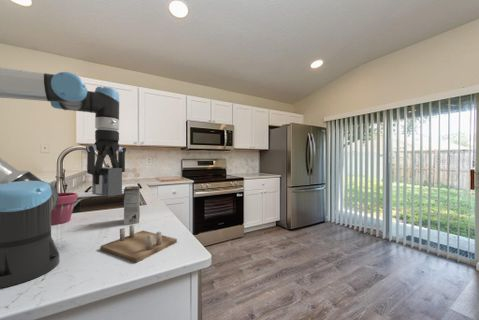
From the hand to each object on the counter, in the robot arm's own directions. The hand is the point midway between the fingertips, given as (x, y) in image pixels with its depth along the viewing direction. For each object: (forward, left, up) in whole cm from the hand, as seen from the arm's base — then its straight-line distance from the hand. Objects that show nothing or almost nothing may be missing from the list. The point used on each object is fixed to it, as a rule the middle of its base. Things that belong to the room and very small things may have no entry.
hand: (107, 192), depth 76 cm
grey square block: (0, 0, -1) cm, 1 cm away
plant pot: (0, +39, -18) cm, 43 cm away
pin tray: (+1, -17, -17) cm, 24 cm away
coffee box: (+17, +10, -18) cm, 26 cm away
